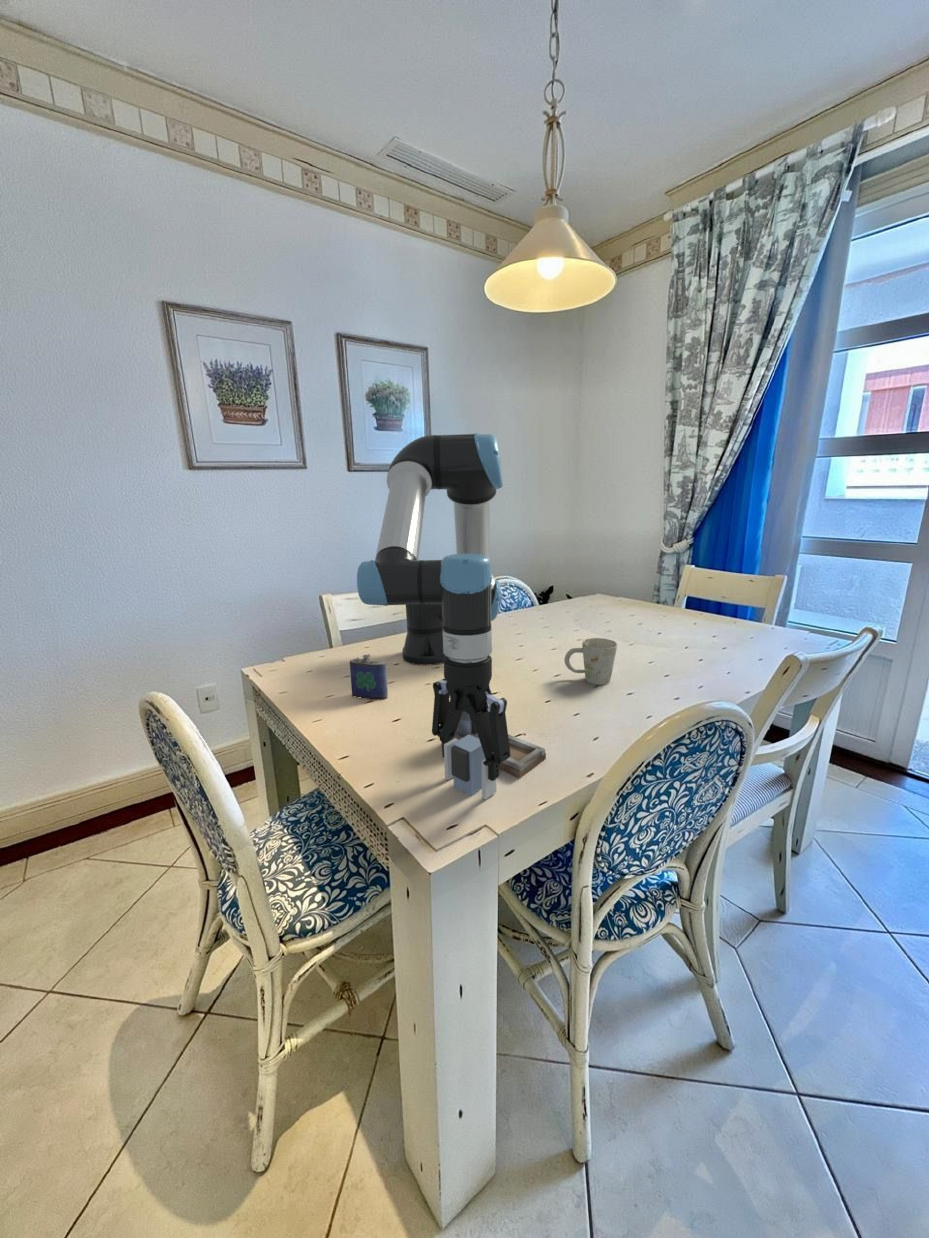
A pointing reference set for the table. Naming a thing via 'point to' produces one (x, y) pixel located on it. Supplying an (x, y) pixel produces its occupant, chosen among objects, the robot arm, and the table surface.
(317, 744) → the table surface
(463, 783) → the blue-grey rectangular block
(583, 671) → the mug
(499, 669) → the table surface
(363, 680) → the flask
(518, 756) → the rail board
